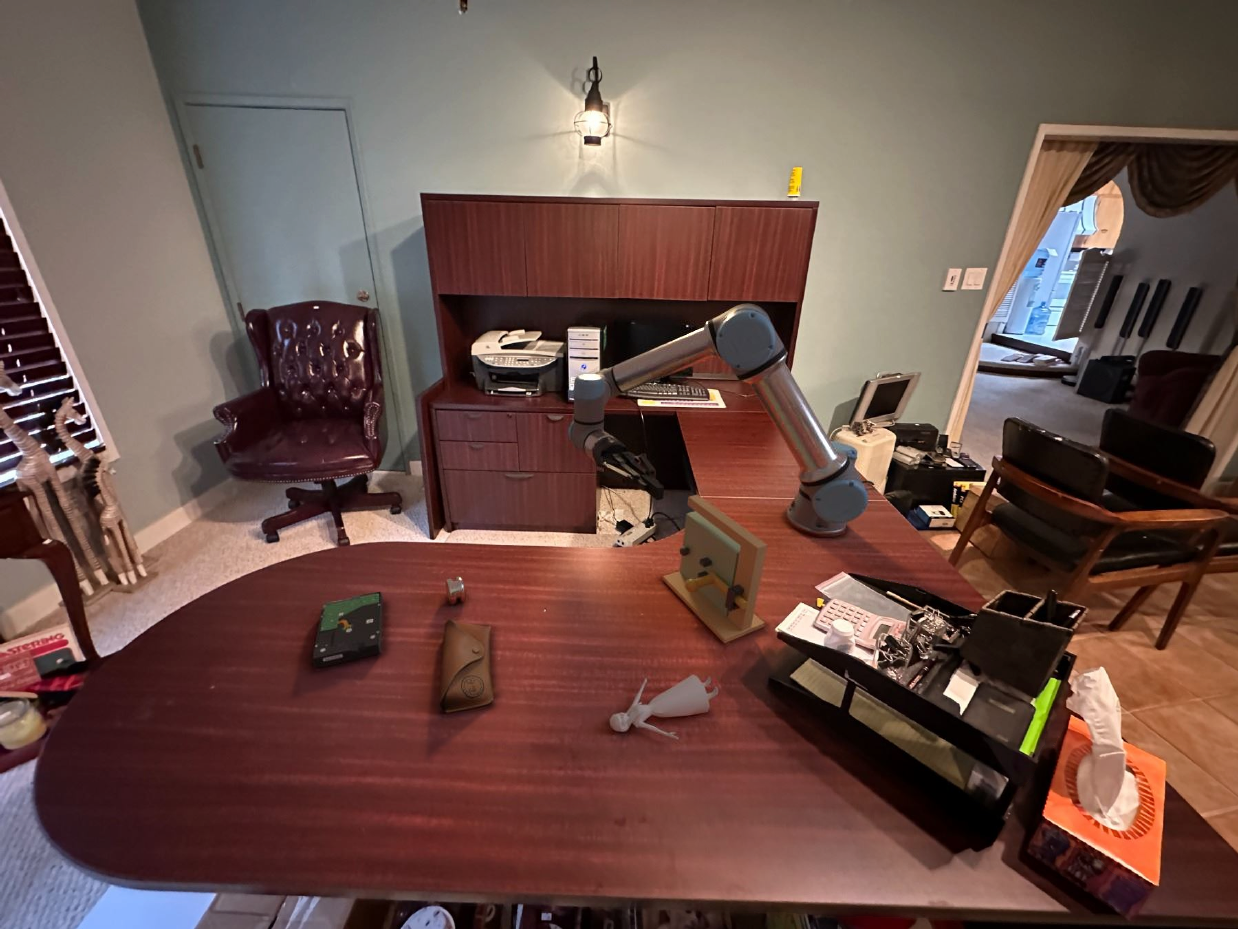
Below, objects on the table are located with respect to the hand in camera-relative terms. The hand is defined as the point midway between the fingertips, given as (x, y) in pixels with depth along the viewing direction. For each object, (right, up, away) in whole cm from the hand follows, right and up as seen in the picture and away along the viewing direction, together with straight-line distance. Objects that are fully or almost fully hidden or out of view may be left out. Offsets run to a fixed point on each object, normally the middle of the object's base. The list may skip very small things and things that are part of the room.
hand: (660, 493), depth 99 cm
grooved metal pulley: (-41, -22, +2) cm, 47 cm away
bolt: (+10, -20, -5) cm, 22 cm away
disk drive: (-57, -25, -8) cm, 63 cm away
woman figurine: (-1, -34, -20) cm, 39 cm away
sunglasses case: (-34, -29, -14) cm, 47 cm away
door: (+11, -23, +4) cm, 26 cm away
